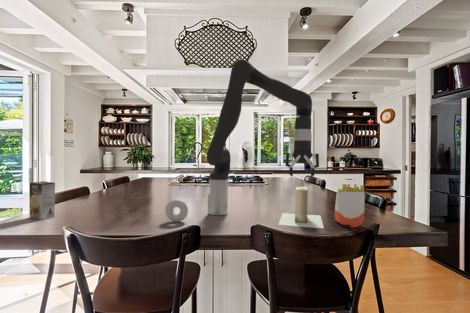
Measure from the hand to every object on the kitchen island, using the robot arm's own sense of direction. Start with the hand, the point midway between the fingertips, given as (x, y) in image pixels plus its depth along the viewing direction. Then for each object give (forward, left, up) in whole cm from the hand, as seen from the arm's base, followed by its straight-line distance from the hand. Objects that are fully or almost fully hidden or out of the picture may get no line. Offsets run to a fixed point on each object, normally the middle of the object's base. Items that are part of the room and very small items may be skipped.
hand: (301, 176), depth 121 cm
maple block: (0, +6, -12) cm, 14 cm away
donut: (-53, -14, -21) cm, 59 cm away
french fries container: (+20, +1, -21) cm, 29 cm away
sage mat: (0, +1, -20) cm, 20 cm away
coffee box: (-115, -24, -21) cm, 119 cm away
